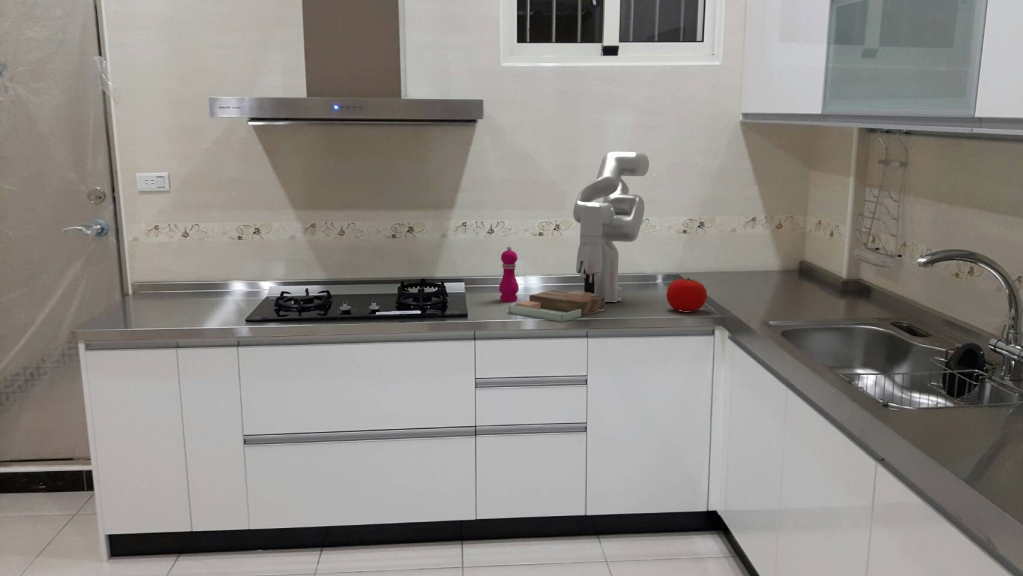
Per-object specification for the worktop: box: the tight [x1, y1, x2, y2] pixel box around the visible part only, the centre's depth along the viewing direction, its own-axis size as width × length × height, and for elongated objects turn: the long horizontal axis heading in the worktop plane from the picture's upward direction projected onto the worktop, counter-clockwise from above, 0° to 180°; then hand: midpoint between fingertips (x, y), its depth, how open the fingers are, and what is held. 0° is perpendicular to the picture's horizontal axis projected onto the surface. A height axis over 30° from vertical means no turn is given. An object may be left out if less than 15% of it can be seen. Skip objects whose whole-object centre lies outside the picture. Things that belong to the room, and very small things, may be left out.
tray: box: [508, 303, 582, 323], centre depth 268 cm, size 11×22×2 cm, turn 52°
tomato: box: [665, 277, 708, 312], centre depth 276 cm, size 13×14×12 cm
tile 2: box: [567, 290, 591, 302], centre depth 271 cm, size 6×6×2 cm
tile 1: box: [515, 300, 541, 310], centre depth 272 cm, size 6×6×2 cm
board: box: [528, 289, 605, 317], centre depth 278 cm, size 14×22×4 cm, turn 52°
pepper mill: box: [498, 245, 520, 303], centre depth 291 cm, size 7×7×20 cm
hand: (589, 293), depth 275 cm, fingers closed
